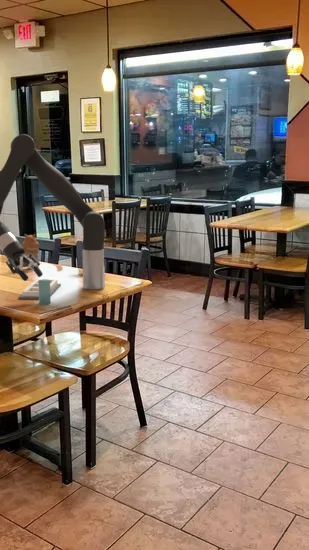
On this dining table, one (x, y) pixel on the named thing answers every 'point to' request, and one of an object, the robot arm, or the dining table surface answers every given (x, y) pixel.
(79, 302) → the dining table surface
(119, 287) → the dining table surface
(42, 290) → the teal peg
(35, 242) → the cat ice cream
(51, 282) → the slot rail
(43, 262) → the dining table surface
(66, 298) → the dining table surface
